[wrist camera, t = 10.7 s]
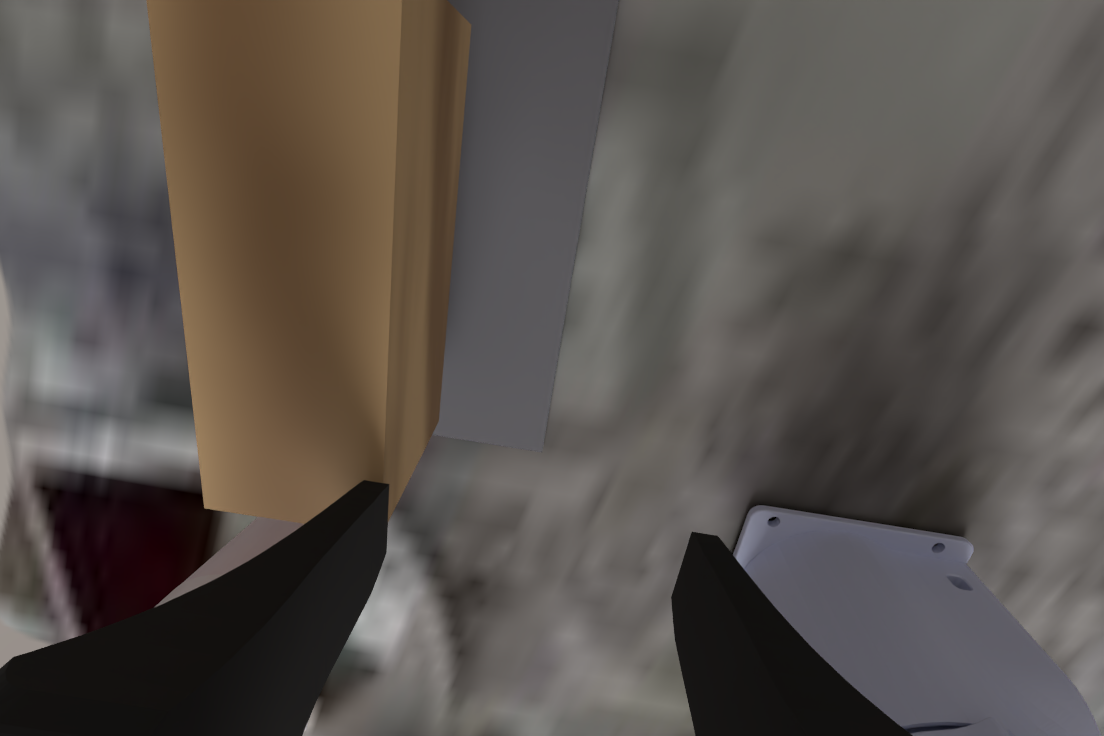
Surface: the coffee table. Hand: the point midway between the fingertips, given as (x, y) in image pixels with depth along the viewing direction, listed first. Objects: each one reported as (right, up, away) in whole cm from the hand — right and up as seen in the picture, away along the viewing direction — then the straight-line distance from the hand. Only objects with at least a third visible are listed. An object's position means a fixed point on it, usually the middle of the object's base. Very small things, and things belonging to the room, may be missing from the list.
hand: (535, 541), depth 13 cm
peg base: (-5, +9, +7) cm, 12 cm away
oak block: (-5, +8, +4) cm, 10 cm away
